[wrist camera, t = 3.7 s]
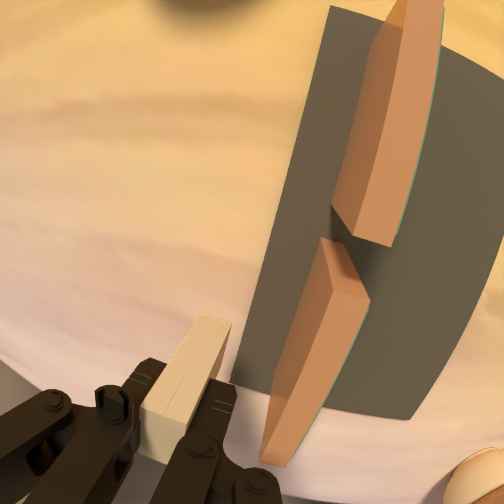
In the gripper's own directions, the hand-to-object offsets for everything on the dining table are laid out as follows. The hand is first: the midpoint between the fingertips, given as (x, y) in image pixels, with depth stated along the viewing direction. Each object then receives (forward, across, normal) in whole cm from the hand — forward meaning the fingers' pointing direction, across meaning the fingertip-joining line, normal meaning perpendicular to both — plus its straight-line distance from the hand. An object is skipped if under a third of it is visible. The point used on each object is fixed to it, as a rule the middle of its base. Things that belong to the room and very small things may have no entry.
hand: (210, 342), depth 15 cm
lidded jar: (+7, +31, -14) cm, 34 cm away
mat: (+6, +9, +6) cm, 12 cm away
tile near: (+6, +5, +12) cm, 14 cm away
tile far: (+6, +5, 0) cm, 7 cm away
